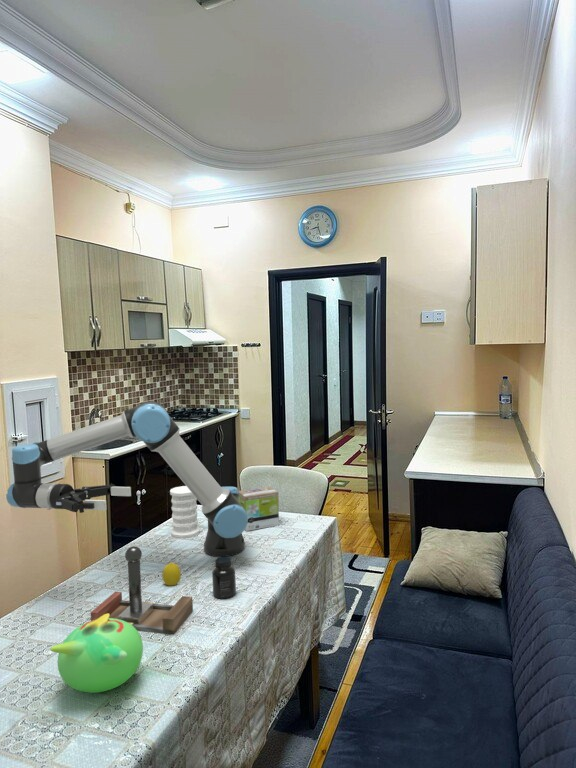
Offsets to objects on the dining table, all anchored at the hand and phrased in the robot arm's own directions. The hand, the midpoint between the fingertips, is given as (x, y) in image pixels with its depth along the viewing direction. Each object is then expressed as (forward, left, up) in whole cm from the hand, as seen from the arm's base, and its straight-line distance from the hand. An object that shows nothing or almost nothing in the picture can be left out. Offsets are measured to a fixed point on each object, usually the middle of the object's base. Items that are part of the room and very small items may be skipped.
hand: (118, 498), depth 153 cm
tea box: (-69, -18, -31) cm, 78 cm away
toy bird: (+22, +35, -31) cm, 52 cm away
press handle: (+4, +16, -29) cm, 34 cm away
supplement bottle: (-21, +23, -31) cm, 44 cm away
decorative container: (-43, -33, -31) cm, 62 cm away
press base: (+3, +18, -31) cm, 36 cm away
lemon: (-14, +5, -31) cm, 34 cm away
